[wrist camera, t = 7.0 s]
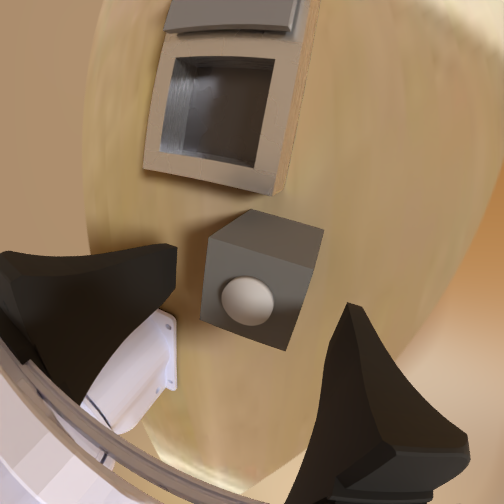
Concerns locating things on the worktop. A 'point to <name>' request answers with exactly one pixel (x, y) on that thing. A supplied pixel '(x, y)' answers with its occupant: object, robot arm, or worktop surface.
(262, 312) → the grey block
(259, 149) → the socket
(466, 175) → the worktop surface
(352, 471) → the robot arm
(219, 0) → the shutter
